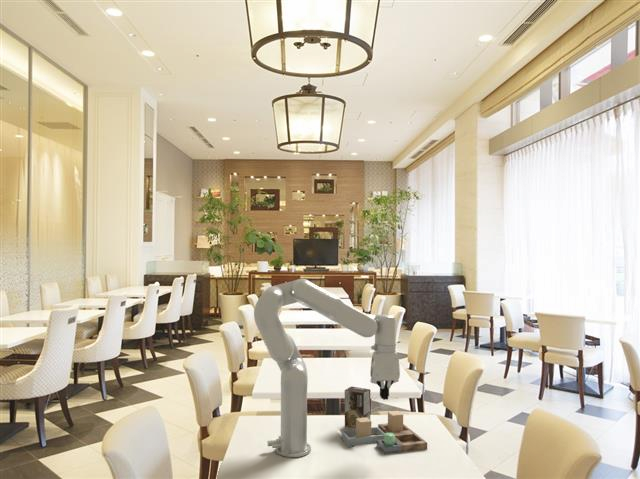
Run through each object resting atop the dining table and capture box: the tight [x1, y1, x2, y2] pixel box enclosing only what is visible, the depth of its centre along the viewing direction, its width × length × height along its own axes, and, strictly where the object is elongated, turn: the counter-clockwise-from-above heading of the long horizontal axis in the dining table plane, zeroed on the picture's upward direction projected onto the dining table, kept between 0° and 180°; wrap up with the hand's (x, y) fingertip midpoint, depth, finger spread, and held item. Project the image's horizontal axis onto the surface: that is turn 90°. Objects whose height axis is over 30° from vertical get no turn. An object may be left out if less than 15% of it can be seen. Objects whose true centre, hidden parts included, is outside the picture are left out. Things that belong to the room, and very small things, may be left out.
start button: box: [384, 433, 395, 446], centre depth 177 cm, size 4×4×5 cm
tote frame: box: [340, 426, 384, 448], centre depth 187 cm, size 15×9×3 cm, turn 106°
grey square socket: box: [376, 439, 403, 455], centre depth 177 cm, size 7×7×3 cm
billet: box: [355, 417, 372, 438], centre depth 187 cm, size 4×4×8 cm
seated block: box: [387, 410, 404, 432], centre depth 192 cm, size 4×4×8 cm
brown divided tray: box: [377, 422, 428, 453], centre depth 187 cm, size 10×22×3 cm, turn 16°
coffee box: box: [344, 386, 371, 430], centre depth 199 cm, size 9×6×16 cm
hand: (384, 398), depth 179 cm, fingers closed
